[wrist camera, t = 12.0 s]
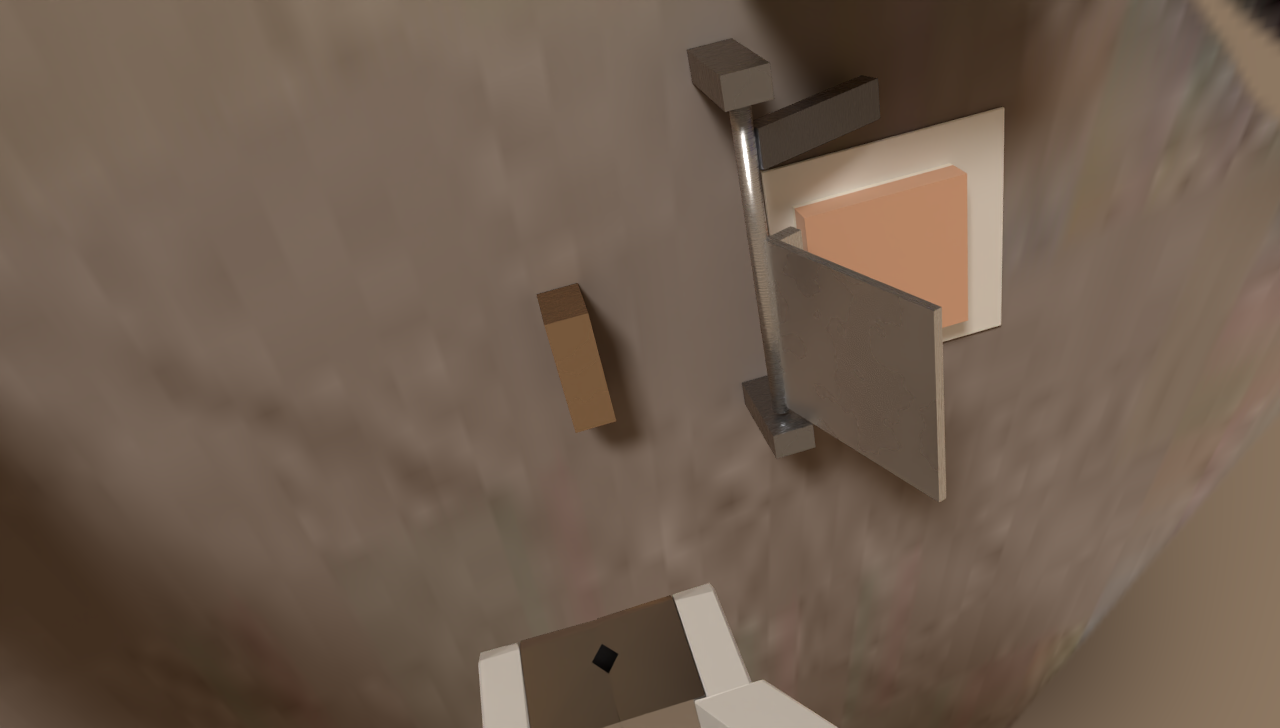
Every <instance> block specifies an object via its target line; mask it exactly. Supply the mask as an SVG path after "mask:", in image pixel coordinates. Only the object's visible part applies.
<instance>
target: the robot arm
mask: <svg viewBox="0 0 1280 728" xmlns="http://www.w3.org/2000/svg"><path fill="white" fill-rule="evenodd" d="M478 667H479V680H480V693H481V707H482V720H483V728H838V727H836V726H835V725H833V724H832V723H830V722H829V721H827V720H826V719H824V718H822V717H821V716H819V715H818V714H816V713H815V712H813V711H812V710H810V709H809V708H807V707H805V706H804V705H802V704H801V703H799V702H798V701H796V700H795V699H793V698H791V697H790V696H788V695H787V694H785V693H784V692H782V691H781V690H779V689H778V688H776V687H774V686H773V685H771V684H770V683H768V682H767V681H765V680H764V679H763V680H759V681H756V682H751V679H750V677H749V674H748V672H747V669H746V667H745V664H744V662H743V659H742V657H741V654H740V652H739V649H738V647H737V644H736V642H735V639H734V637H733V634H732V632H731V629H730V627H729V624H728V622H727V619H726V617H725V614H724V612H723V609H722V607H721V604H720V602H719V599H718V597H717V594H716V592H715V589H714V588H713V587H712V586H711V585H710V584H709V583H708V584H705V585H702V586H698V587H695V588H692V589H689V590H686V591H683V592H679V593H676V594H673V595H672V597H671V595H669V596H666V597H663V598H660V599H657V600H654V601H651V602H647V603H644V604H641V605H638V606H635V607H632V608H629V609H625V610H622V611H619V612H616V613H613V614H610V615H607V616H603V617H600V618H597V620H593V621H590V622H586V623H582V624H579V625H575V626H572V627H568V628H565V629H561V630H557V631H554V632H550V633H547V634H543V635H540V636H536V637H532V638H529V639H525V640H522V641H520V642H517V643H514V644H510V645H507V646H503V647H499V648H496V649H492V650H489V651H485V652H482V653H480V658H479V663H478Z"/></svg>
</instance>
